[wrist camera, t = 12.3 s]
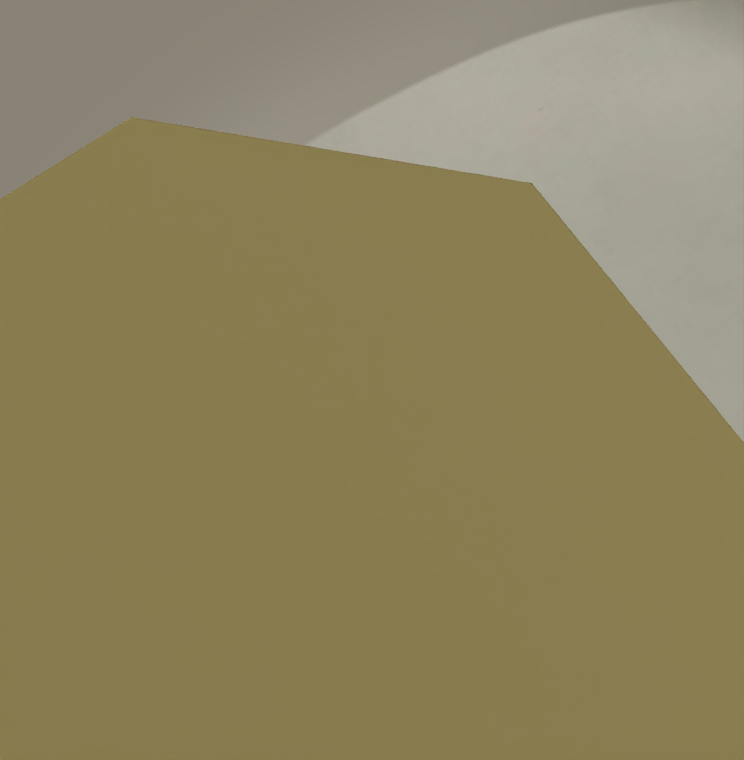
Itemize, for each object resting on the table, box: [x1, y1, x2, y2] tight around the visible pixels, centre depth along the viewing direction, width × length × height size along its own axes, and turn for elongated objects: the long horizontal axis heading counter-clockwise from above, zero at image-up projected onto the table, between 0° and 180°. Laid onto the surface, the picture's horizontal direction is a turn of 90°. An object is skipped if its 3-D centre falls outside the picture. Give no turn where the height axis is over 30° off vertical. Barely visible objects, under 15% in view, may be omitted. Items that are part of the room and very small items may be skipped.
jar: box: [0, 117, 744, 760], centre depth 12 cm, size 9×9×15 cm
